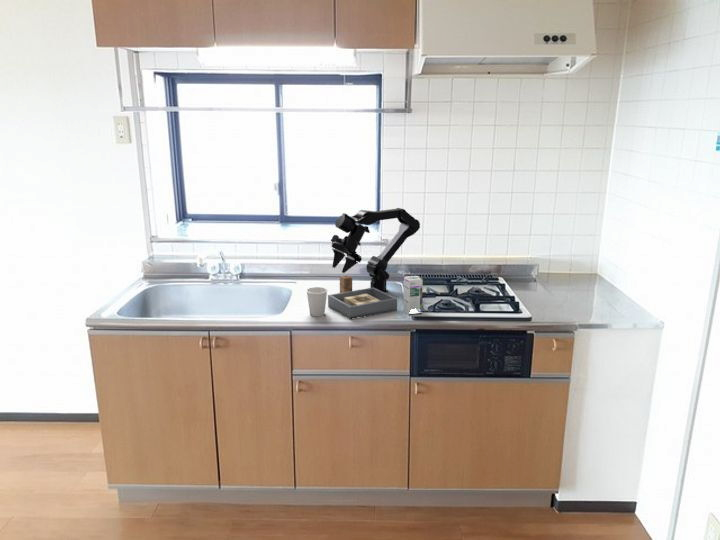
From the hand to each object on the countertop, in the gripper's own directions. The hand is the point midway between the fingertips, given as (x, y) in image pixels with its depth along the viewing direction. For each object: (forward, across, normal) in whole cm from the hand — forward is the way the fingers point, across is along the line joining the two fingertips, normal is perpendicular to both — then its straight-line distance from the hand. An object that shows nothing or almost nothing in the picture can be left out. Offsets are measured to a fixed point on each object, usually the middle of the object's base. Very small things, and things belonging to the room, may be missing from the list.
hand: (338, 270), depth 229 cm
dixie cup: (+20, +14, +8) cm, 26 cm away
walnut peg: (+9, -9, +5) cm, 13 cm away
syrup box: (+2, -4, +37) cm, 37 cm away
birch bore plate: (+10, +1, +19) cm, 21 cm away
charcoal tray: (+10, +1, +19) cm, 21 cm away
